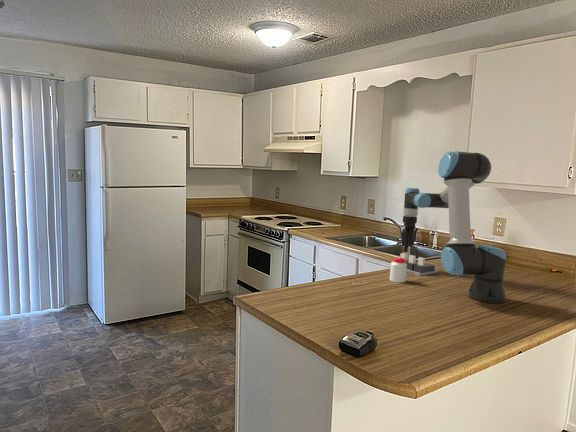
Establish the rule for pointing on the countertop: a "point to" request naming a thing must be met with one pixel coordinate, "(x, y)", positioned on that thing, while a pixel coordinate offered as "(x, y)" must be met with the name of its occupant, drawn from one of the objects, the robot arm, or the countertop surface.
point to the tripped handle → (403, 256)
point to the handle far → (421, 261)
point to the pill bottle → (398, 270)
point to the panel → (420, 268)
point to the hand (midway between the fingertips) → (406, 257)
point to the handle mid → (412, 259)
